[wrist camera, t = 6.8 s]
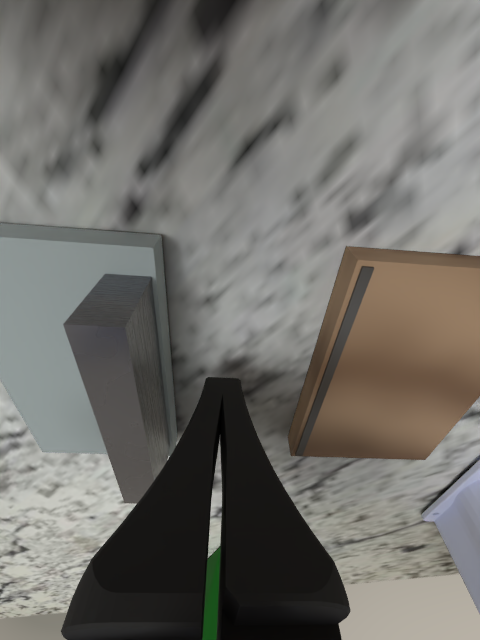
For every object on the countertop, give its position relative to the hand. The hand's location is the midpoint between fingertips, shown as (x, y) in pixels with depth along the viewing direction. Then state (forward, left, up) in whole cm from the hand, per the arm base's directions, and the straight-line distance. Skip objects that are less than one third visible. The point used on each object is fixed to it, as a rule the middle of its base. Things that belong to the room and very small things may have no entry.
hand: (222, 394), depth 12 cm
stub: (0, +6, -2) cm, 6 cm away
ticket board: (0, -8, -2) cm, 8 cm away
